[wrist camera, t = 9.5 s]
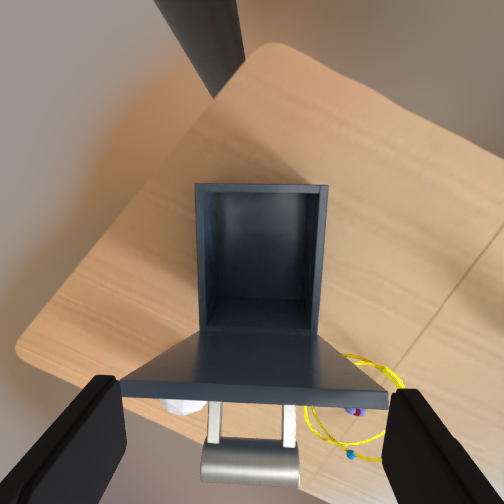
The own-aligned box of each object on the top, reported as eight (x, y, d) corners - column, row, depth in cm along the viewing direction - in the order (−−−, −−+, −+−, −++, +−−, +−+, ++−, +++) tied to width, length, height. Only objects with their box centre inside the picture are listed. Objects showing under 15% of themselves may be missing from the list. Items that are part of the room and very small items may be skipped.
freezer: (212, 184, 35) (194, 183, 26) (313, 185, 34) (328, 185, 26) (214, 299, 38) (199, 332, 30) (305, 302, 38) (317, 336, 29)
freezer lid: (119, 379, 13) (107, 510, 12) (388, 391, 13) (393, 530, 12) (198, 330, 29) (195, 386, 29) (318, 335, 29) (318, 391, 28)
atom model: (351, 446, 42) (270, 420, 40) (382, 351, 44) (306, 320, 42) (425, 529, 29) (309, 496, 26) (464, 387, 31) (360, 345, 28)
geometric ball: (195, 365, 44) (164, 416, 39) (169, 334, 40) (131, 387, 35) (234, 376, 40) (205, 435, 35) (209, 343, 36) (172, 405, 30)
